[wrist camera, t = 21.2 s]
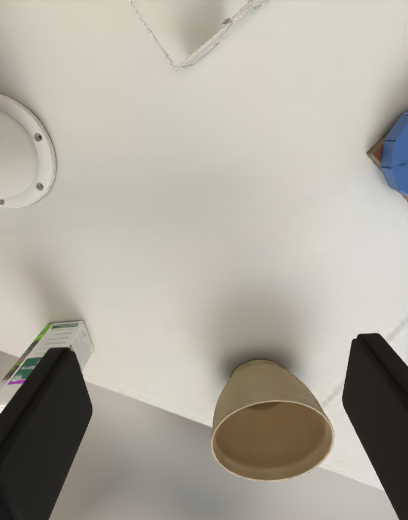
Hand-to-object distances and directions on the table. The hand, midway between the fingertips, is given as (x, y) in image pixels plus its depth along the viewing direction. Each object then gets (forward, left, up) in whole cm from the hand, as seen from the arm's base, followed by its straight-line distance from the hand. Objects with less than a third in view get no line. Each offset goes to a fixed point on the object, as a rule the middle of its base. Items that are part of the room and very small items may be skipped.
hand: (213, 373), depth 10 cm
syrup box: (-2, -30, -28) cm, 41 cm away
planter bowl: (+26, -17, -28) cm, 42 cm away
